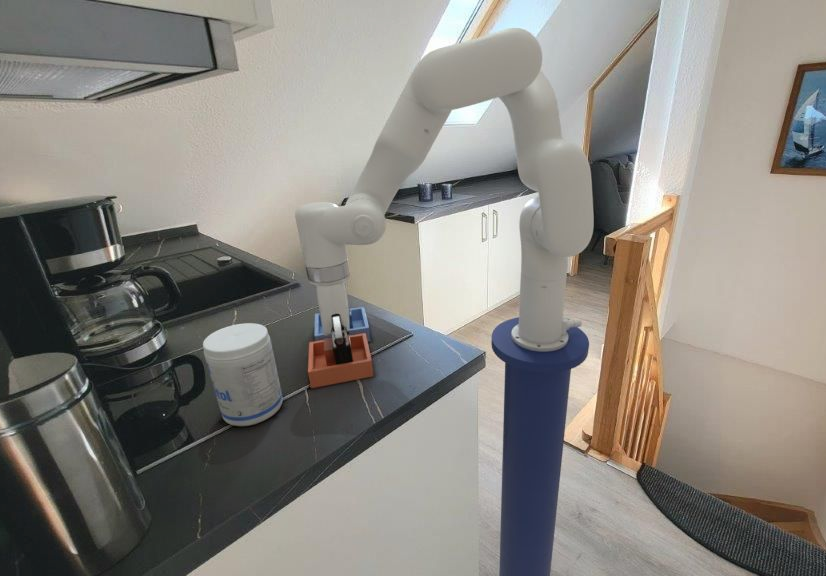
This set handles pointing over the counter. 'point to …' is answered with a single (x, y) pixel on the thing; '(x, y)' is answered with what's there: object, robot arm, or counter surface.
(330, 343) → the terracotta block
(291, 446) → the counter surface
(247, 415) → the supplement tub
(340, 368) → the terracotta bin
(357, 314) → the blue bin
